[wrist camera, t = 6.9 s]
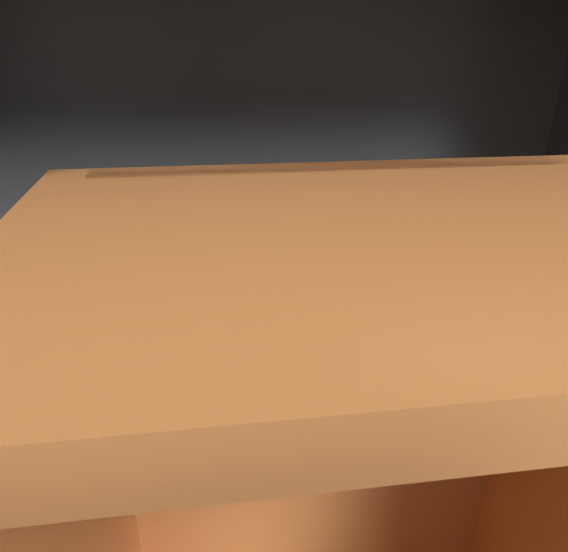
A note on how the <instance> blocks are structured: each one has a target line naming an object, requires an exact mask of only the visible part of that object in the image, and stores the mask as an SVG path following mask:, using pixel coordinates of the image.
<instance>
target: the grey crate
mask: <svg viewBox="0 0 568 552" xmlns="http://www.w3.org/2000/svg"><path fill="white" fill-rule="evenodd" d="M544 155H568V0H0V219H1V218H2V217H3V216H4V215H5V214H6V213H7V212H8V211H9V210H10V209H11V208H12V207H13V206H14V205H15V204H16V203H17V202H18V201H19V200H20V199H21V198H22V197H23V196H24V195H25V194H26V193H27V192H28V191H29V190H30V189H31V188H32V187H33V186H34V185H35V184H36V183H37V182H38V181H39V180H40V179H41V178H42V177H43V176H44V175H45V174H46V172H47V171H48V170H54V169H89V168H125V167H159V166H194V165H229V164H264V163H299V162H334V161H369V160H404V159H439V158H474V157H509V156H544Z"/></svg>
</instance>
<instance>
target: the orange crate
mask: <svg viewBox="0 0 568 552" xmlns="http://www.w3.org/2000/svg"><path fill="white" fill-rule="evenodd" d="M0 552H568V155H544V156H509V157H474V158H439V159H404V160H369V161H334V162H299V163H264V164H229V165H194V166H159V167H125V168H89V169H54V170H48V171H47V172H46V174H45V175H44V176H43V177H42V178H41V179H40V180H39V181H38V182H37V183H36V184H35V185H34V186H33V187H32V188H31V189H30V190H29V191H28V192H27V193H26V194H25V195H24V196H23V197H22V198H21V199H20V200H19V201H18V202H17V203H16V204H15V205H14V206H13V207H12V208H11V209H10V210H9V211H8V212H7V213H6V214H5V215H4V216H3V217H2V218H1V219H0Z"/></svg>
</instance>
